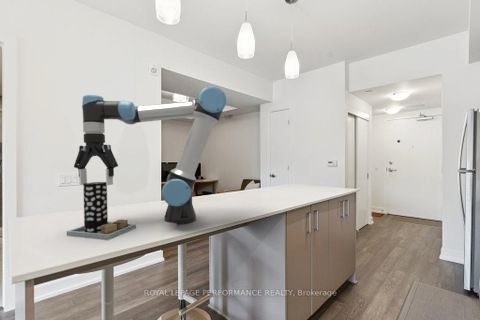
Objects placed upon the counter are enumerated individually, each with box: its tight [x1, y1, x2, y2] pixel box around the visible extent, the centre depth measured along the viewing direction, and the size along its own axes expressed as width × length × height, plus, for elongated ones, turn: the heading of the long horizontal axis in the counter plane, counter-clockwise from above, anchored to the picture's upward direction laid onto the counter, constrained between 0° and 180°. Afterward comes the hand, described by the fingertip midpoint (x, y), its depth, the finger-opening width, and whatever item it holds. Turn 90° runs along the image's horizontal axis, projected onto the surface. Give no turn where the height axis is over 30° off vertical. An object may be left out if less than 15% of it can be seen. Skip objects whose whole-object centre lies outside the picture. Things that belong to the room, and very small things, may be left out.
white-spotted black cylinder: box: [82, 181, 109, 233], centre depth 98 cm, size 8×8×20 cm
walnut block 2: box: [112, 219, 129, 231], centre depth 99 cm, size 4×4×4 cm
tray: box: [66, 221, 137, 241], centre depth 97 cm, size 20×15×2 cm
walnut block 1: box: [101, 223, 117, 234], centre depth 93 cm, size 4×4×4 cm
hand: (96, 184), depth 98 cm, fingers open, 13 cm apart
